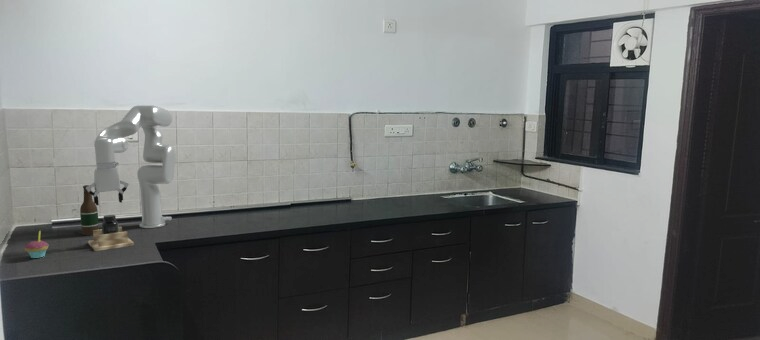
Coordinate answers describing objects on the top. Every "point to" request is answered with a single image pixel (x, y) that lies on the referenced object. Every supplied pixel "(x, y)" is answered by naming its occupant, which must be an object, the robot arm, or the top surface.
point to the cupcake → (36, 248)
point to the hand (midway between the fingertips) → (108, 203)
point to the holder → (109, 240)
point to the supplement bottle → (110, 225)
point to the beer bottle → (88, 214)
